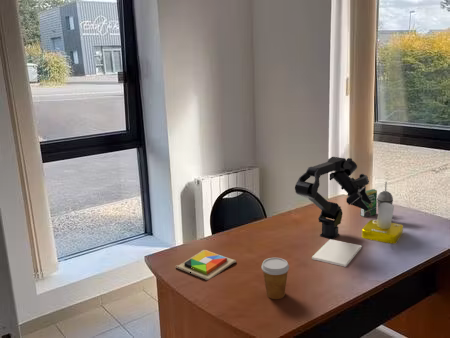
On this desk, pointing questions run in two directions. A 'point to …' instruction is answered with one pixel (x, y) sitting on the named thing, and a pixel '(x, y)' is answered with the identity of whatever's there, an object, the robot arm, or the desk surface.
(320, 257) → the notebook
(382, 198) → the beverage cup
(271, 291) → the disposable coffee cup
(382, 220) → the grey cylinder
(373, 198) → the coffee box
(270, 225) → the desk surface
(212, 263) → the wooden puzzle
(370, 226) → the element tile
